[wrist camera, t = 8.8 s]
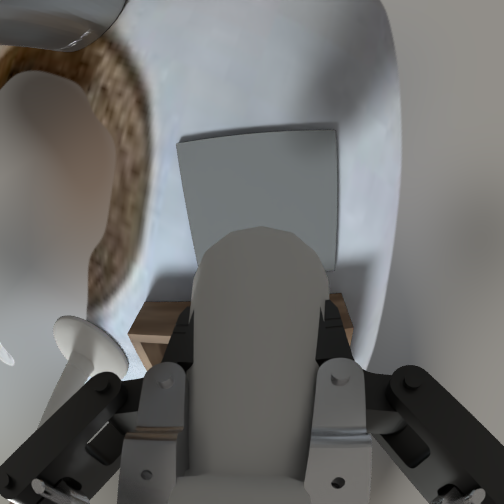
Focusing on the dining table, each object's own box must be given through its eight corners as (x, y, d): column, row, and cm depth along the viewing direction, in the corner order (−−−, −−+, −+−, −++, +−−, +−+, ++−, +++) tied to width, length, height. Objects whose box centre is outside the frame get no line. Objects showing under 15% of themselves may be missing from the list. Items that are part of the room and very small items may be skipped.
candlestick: (91, 309, 28) (-15, 519, 2) (144, 376, 34) (89, 561, 7) (42, 320, 31) (-46, 471, 4) (89, 377, 36) (31, 520, 9)
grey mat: (178, 143, 20) (176, 143, 19) (333, 129, 19) (335, 130, 18) (202, 275, 25) (200, 278, 24) (333, 267, 24) (334, 270, 23)
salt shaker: (334, 226, 13) (454, 537, 1) (299, 317, 15) (318, 557, 4) (213, 198, 12) (53, 542, 1) (198, 296, 15) (128, 541, 3)
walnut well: (144, 301, 27) (127, 333, 23) (341, 293, 25) (353, 327, 21) (179, 381, 33) (171, 410, 29) (328, 378, 32) (334, 409, 27)
